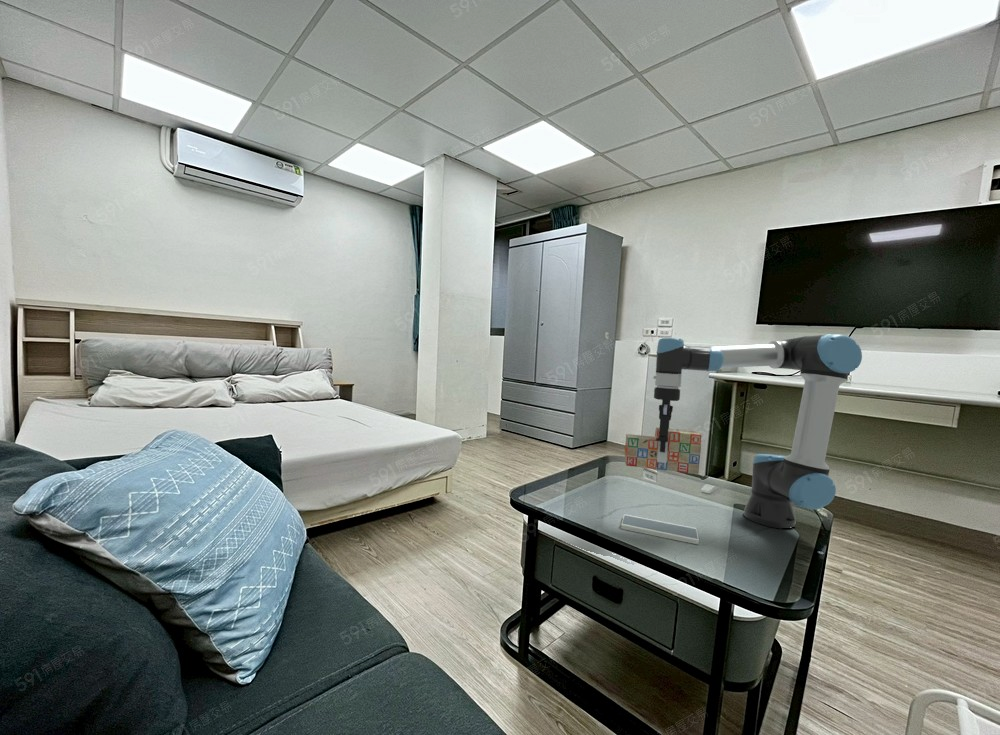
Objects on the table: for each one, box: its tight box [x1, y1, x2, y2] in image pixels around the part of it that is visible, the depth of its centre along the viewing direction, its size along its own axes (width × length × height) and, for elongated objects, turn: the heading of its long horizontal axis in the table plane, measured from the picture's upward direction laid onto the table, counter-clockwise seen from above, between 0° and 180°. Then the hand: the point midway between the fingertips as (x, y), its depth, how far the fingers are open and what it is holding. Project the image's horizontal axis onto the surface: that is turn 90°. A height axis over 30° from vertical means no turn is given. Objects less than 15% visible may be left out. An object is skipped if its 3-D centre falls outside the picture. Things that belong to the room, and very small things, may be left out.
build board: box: [620, 513, 700, 545], centre depth 127 cm, size 22×10×1 cm, turn 67°
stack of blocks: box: [623, 427, 702, 475], centre depth 128 cm, size 21×6×12 cm, turn 78°
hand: (662, 459), depth 128 cm, fingers closed on stack of blocks, 7 cm apart
